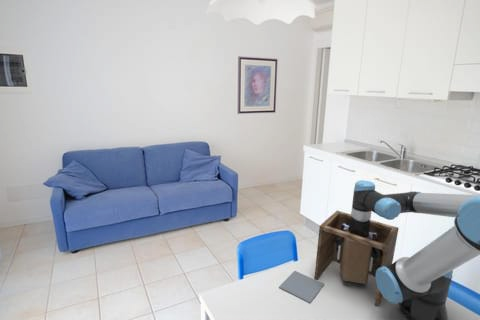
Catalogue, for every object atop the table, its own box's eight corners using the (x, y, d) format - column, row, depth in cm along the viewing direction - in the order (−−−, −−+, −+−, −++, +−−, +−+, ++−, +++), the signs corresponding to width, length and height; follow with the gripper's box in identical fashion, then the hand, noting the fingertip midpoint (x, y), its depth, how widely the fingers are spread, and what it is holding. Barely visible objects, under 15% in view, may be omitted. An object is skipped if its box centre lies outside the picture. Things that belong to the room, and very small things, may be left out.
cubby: (389, 280, 127) (398, 227, 120) (377, 307, 111) (388, 248, 105) (331, 258, 142) (336, 210, 136) (314, 278, 127) (319, 225, 120)
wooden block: (367, 285, 120) (373, 241, 115) (342, 281, 122) (347, 238, 117) (362, 270, 129) (368, 229, 125) (339, 267, 131) (344, 227, 127)
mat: (324, 284, 123) (324, 283, 123) (310, 303, 112) (310, 302, 112) (294, 271, 131) (294, 270, 131) (278, 287, 120) (278, 286, 120)
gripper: (395, 223, 115) (387, 270, 120) (334, 207, 129) (329, 249, 135) (391, 230, 109) (383, 279, 114) (327, 212, 124) (323, 257, 129)
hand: (354, 263), depth 124 cm, fingers open, 13 cm apart
